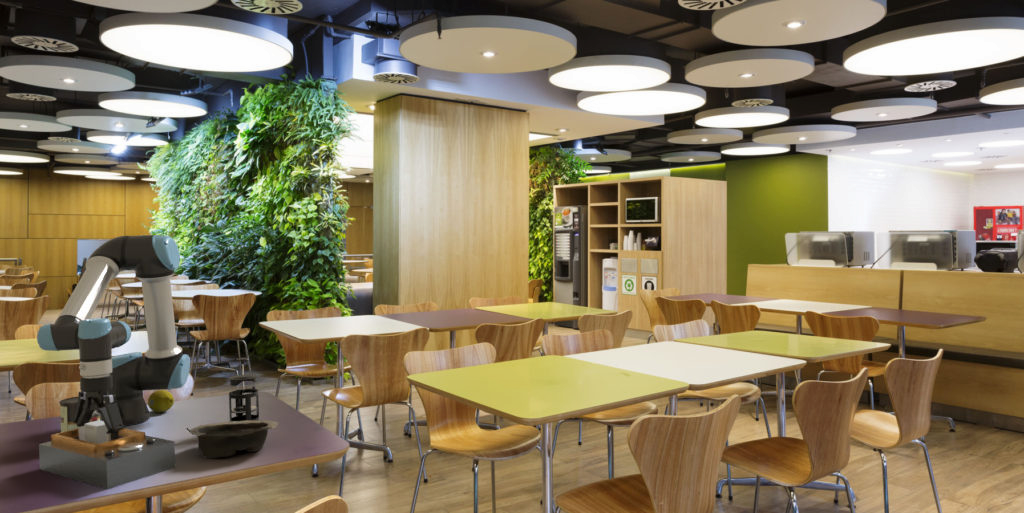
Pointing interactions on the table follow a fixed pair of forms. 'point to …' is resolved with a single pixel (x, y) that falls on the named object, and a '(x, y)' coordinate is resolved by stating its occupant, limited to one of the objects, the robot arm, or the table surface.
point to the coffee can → (72, 414)
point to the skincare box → (96, 432)
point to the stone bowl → (231, 437)
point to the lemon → (160, 401)
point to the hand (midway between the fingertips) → (98, 452)
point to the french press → (241, 404)
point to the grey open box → (106, 457)
